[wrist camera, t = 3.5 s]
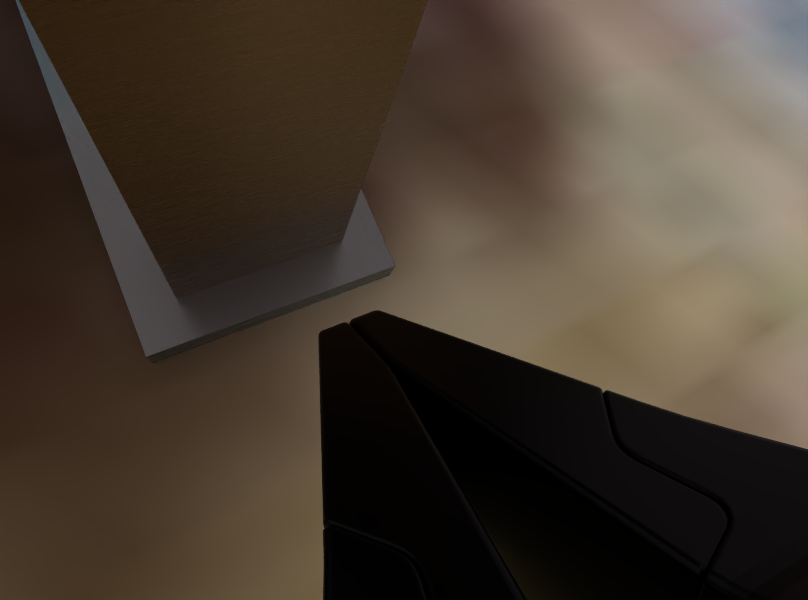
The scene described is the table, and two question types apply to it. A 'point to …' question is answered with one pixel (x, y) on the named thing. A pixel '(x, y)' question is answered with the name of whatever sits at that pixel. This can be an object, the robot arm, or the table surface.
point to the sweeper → (225, 148)
